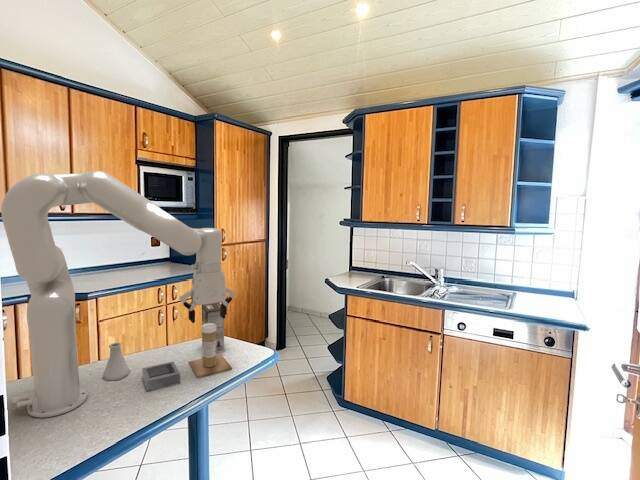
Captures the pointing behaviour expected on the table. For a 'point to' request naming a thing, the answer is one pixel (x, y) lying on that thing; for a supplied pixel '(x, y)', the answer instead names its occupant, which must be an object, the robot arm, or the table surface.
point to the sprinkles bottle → (209, 344)
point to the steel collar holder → (163, 380)
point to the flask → (116, 364)
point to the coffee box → (213, 316)
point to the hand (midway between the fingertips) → (207, 319)
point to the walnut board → (206, 371)
